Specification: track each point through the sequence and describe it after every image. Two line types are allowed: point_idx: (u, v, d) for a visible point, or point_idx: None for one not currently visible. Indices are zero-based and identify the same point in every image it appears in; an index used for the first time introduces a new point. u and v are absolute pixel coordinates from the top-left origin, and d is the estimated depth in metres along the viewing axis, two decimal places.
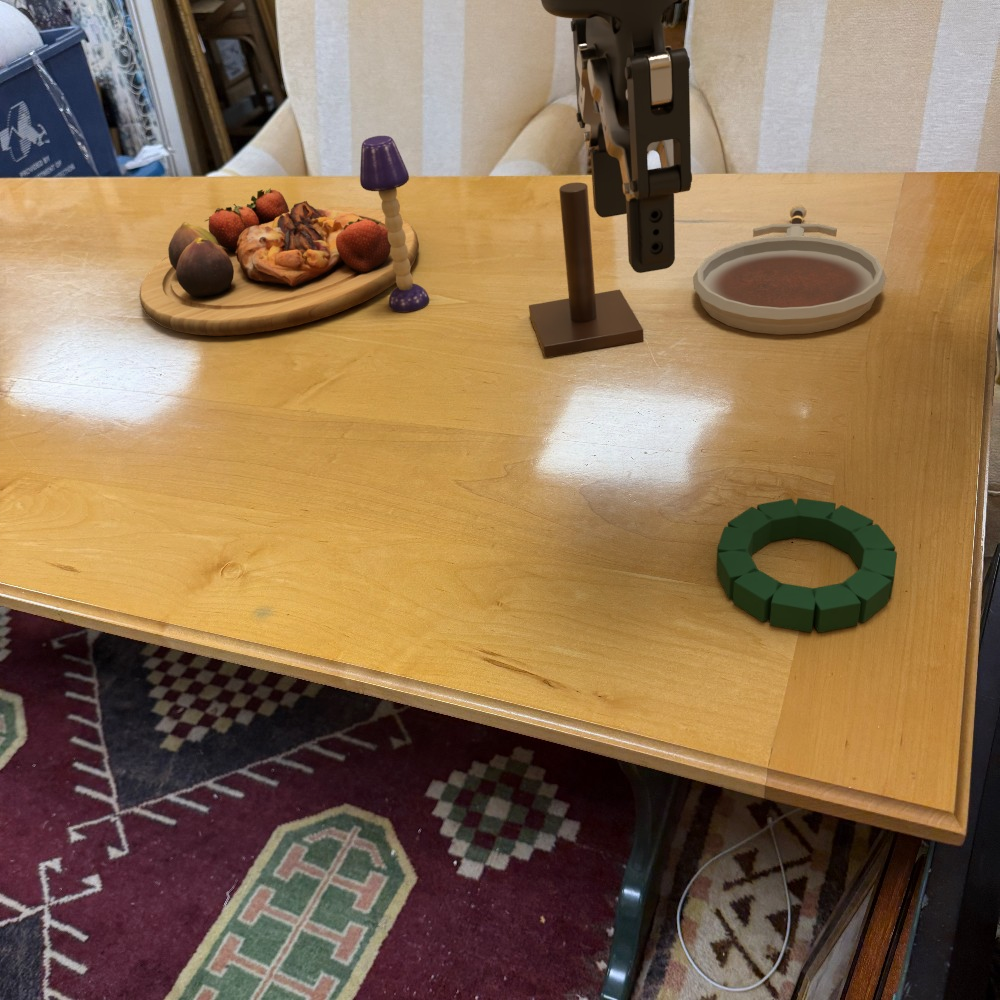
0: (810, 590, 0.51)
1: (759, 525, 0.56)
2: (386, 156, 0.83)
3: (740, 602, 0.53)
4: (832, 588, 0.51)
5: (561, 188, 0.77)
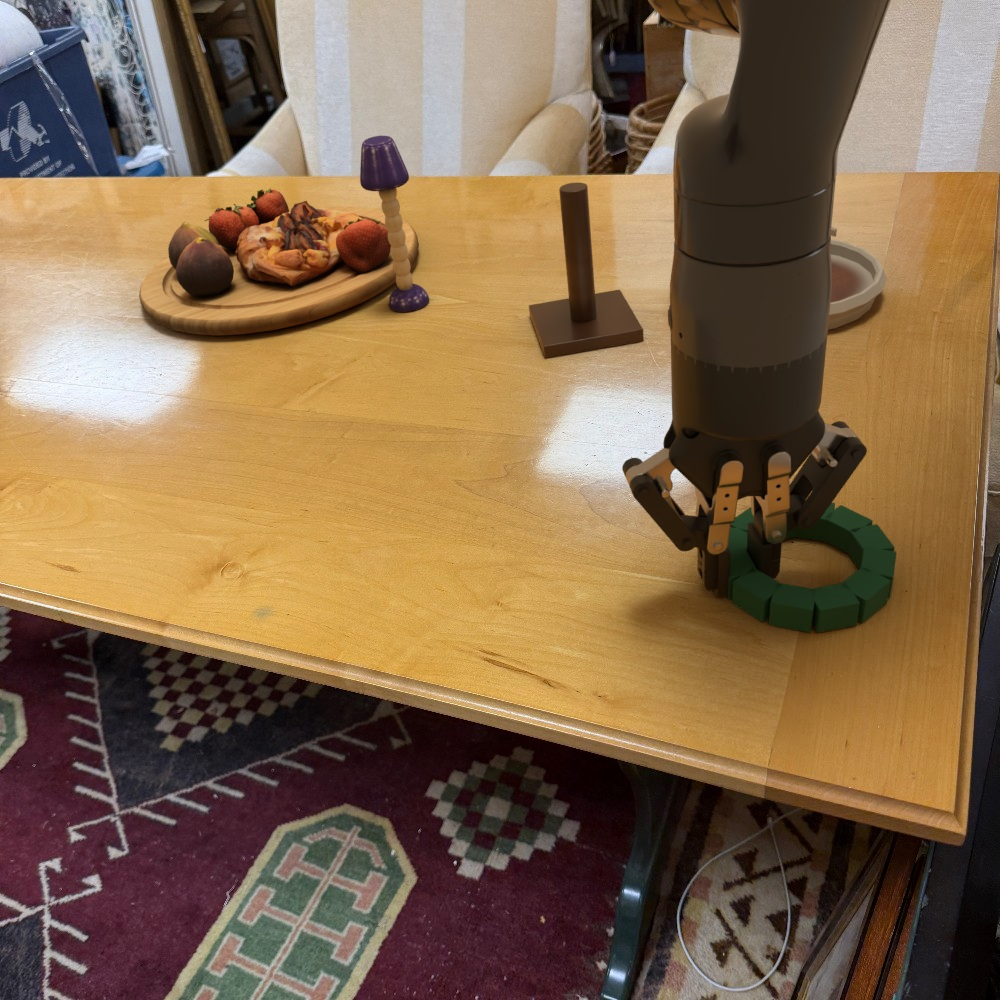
0: (809, 590, 0.51)
1: None
2: (386, 156, 0.83)
3: (739, 602, 0.53)
4: (831, 588, 0.51)
5: (561, 188, 0.77)
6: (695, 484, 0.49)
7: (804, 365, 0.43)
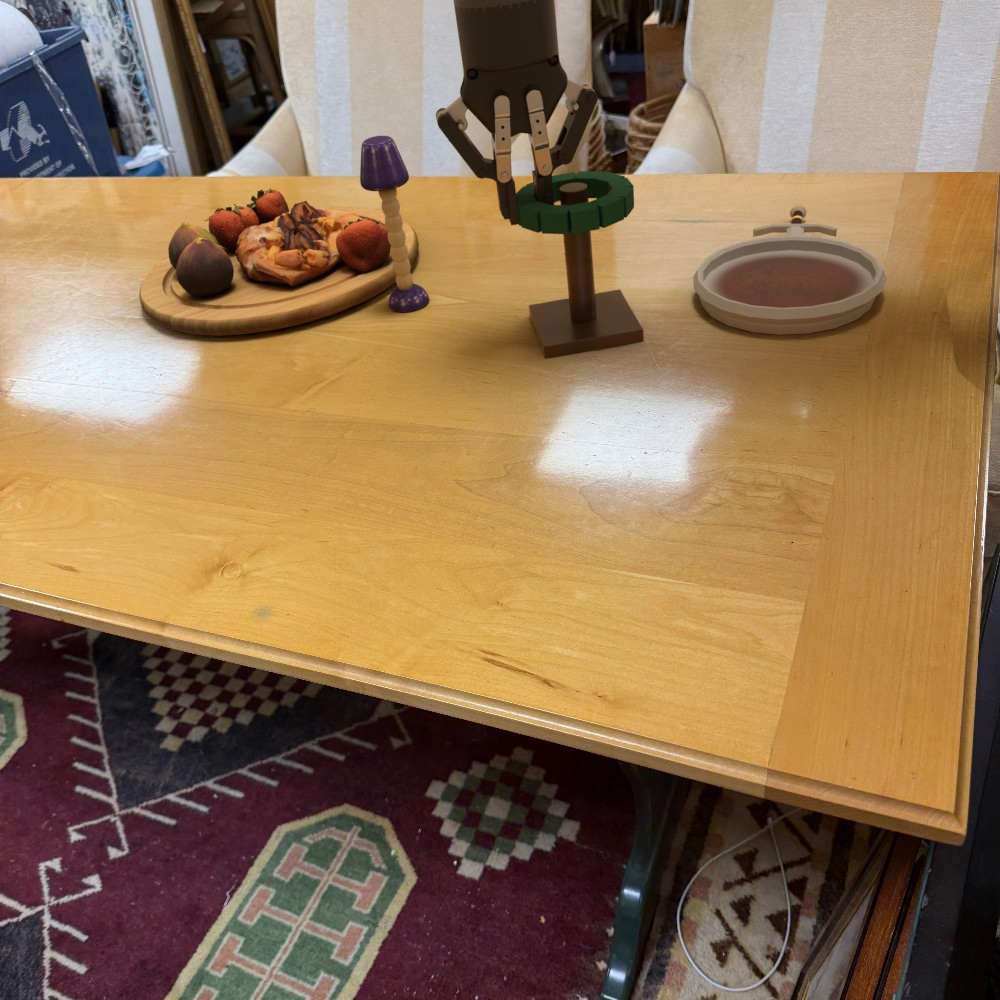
0: (567, 205, 0.74)
1: None
2: (386, 156, 0.83)
3: (524, 223, 0.76)
4: (582, 204, 0.74)
5: (561, 188, 0.77)
6: (482, 121, 0.72)
7: (531, 8, 0.66)
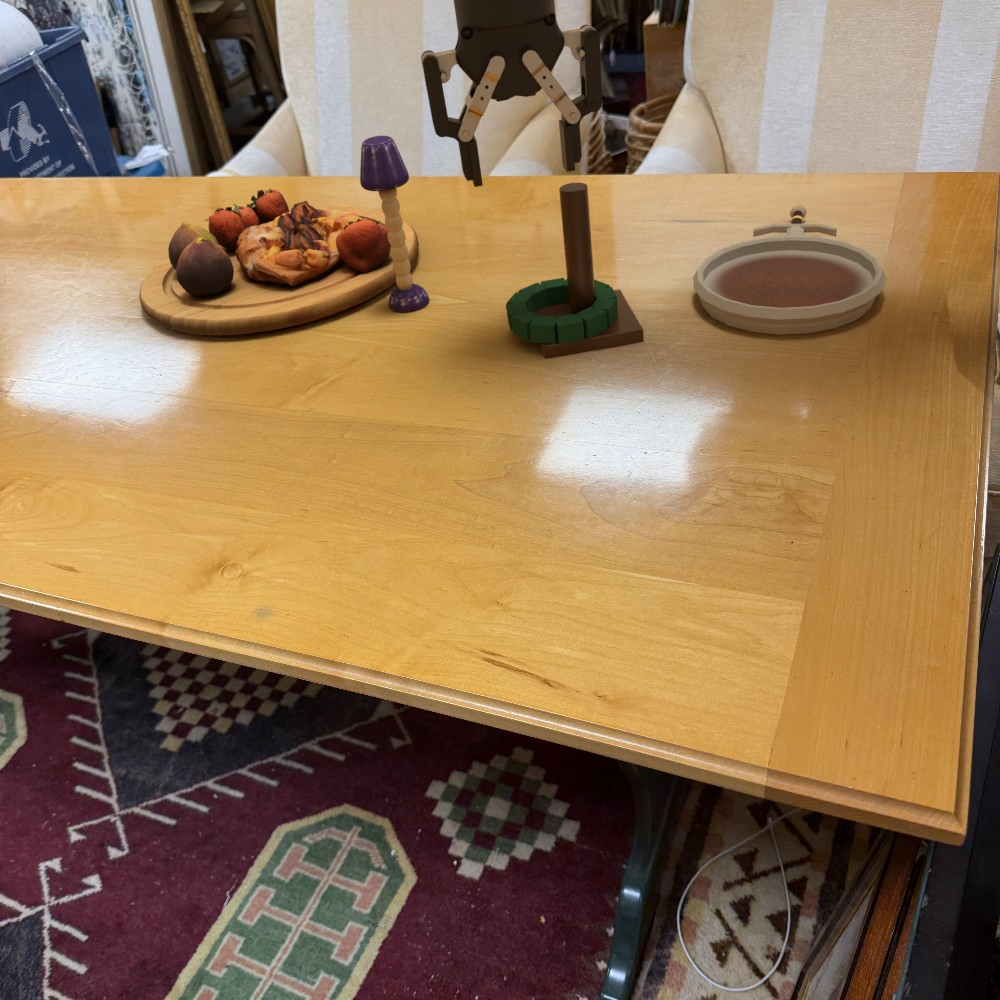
0: (555, 317, 0.81)
1: (537, 290, 0.86)
2: (386, 156, 0.83)
3: (515, 331, 0.82)
4: (568, 316, 0.80)
5: (561, 188, 0.77)
6: (476, 83, 0.70)
7: None
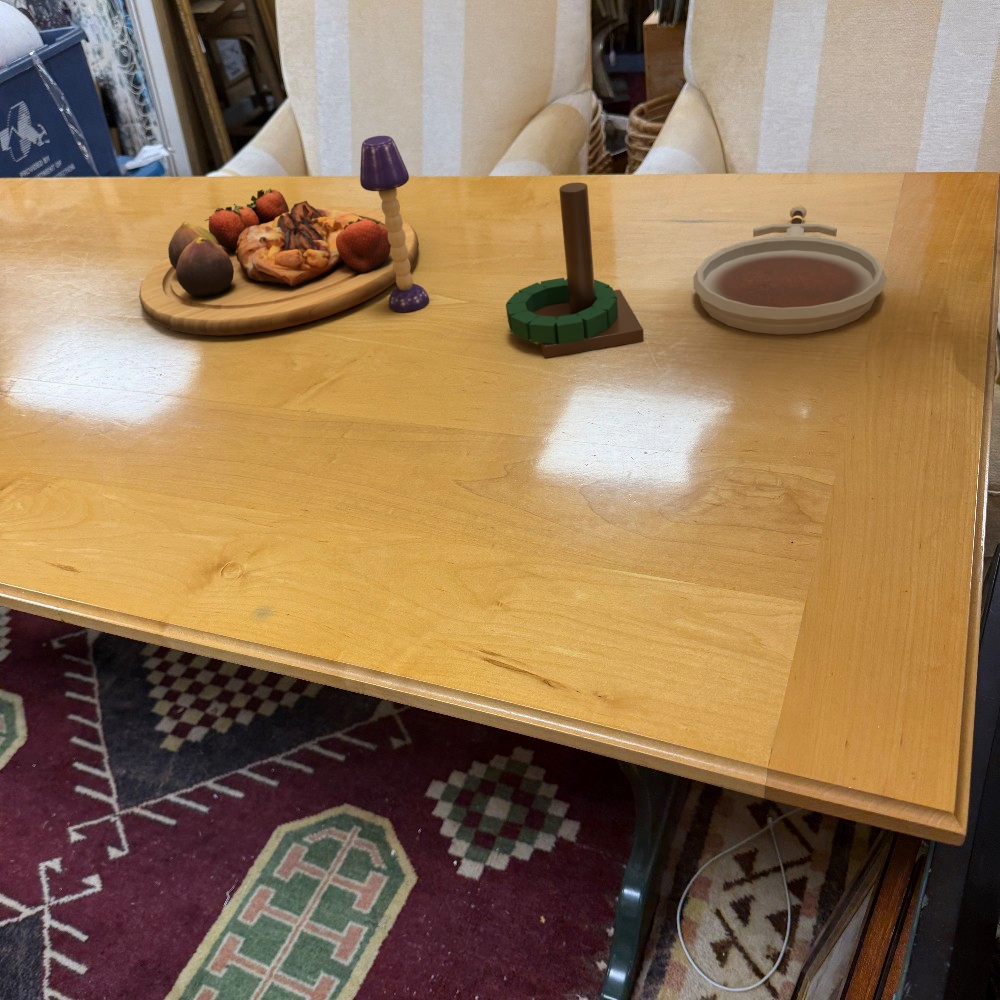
0: (555, 317, 0.81)
1: (537, 290, 0.86)
2: (386, 156, 0.83)
3: (515, 331, 0.82)
4: (568, 316, 0.80)
5: (561, 188, 0.77)
6: None
7: None
